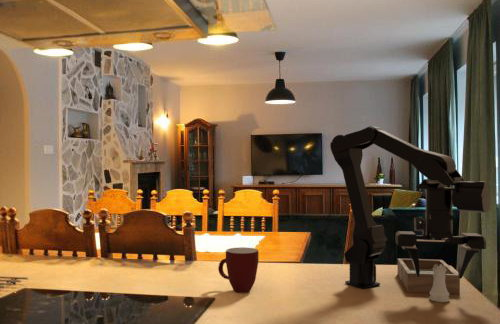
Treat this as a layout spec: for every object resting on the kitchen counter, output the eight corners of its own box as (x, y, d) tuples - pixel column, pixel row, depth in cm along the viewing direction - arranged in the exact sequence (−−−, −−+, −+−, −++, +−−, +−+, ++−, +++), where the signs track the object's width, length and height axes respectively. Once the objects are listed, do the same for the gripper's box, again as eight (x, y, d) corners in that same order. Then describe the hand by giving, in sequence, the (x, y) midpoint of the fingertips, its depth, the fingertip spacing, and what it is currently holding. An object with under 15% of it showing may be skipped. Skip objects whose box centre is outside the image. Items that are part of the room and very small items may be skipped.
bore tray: (459, 294, 113) (459, 275, 113) (407, 291, 115) (407, 273, 115) (442, 276, 130) (442, 259, 130) (397, 274, 132) (397, 258, 132)
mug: (211, 292, 114) (211, 251, 114) (223, 284, 121) (223, 246, 121) (252, 296, 110) (252, 254, 110) (262, 288, 118) (262, 248, 118)
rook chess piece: (453, 303, 106) (453, 267, 106) (433, 302, 106) (433, 267, 106) (445, 297, 110) (445, 263, 110) (426, 297, 110) (426, 263, 110)
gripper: (471, 207, 114) (471, 271, 114) (392, 205, 117) (392, 267, 117) (486, 211, 103) (486, 282, 103) (398, 210, 106) (398, 278, 106)
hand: (438, 277), depth 108 cm, fingers open, 9 cm apart
